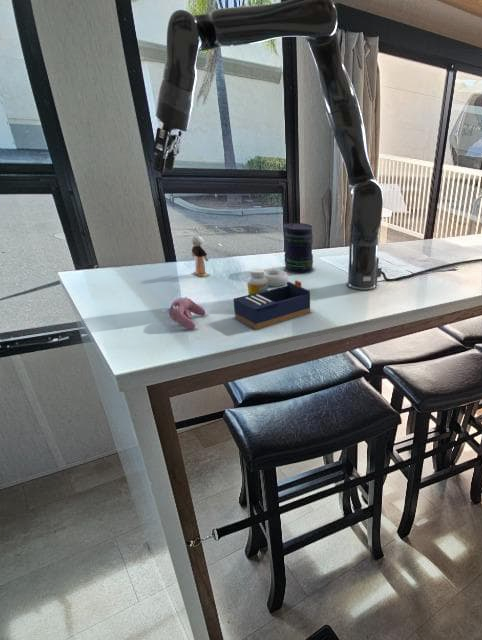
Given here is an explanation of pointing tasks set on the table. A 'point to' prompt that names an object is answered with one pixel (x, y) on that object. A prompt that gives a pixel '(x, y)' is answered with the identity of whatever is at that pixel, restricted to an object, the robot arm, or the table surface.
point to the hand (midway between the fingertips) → (163, 170)
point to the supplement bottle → (256, 281)
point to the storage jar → (298, 247)
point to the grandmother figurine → (199, 256)
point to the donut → (275, 277)
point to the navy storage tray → (272, 305)
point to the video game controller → (185, 312)
